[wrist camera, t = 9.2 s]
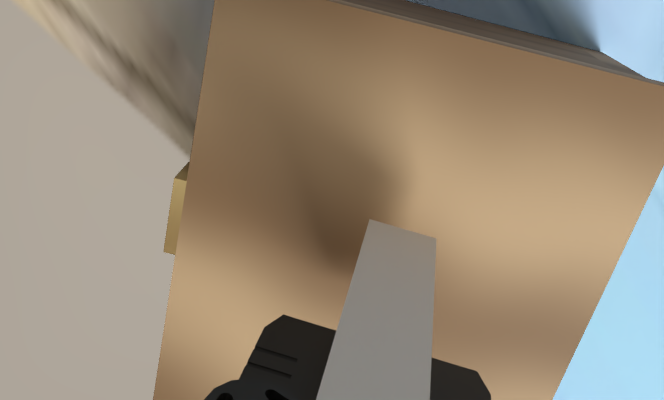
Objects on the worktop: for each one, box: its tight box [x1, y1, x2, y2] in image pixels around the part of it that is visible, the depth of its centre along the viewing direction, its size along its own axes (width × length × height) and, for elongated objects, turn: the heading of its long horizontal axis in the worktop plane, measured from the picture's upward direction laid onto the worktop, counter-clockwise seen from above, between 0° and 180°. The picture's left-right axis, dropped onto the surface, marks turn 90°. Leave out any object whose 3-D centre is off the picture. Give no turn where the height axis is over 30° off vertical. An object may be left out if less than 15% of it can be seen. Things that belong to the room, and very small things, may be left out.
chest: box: [342, 0, 645, 78], centre depth 20 cm, size 11×10×7 cm
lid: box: [153, 0, 664, 400], centre depth 16 cm, size 11×10×1 cm
